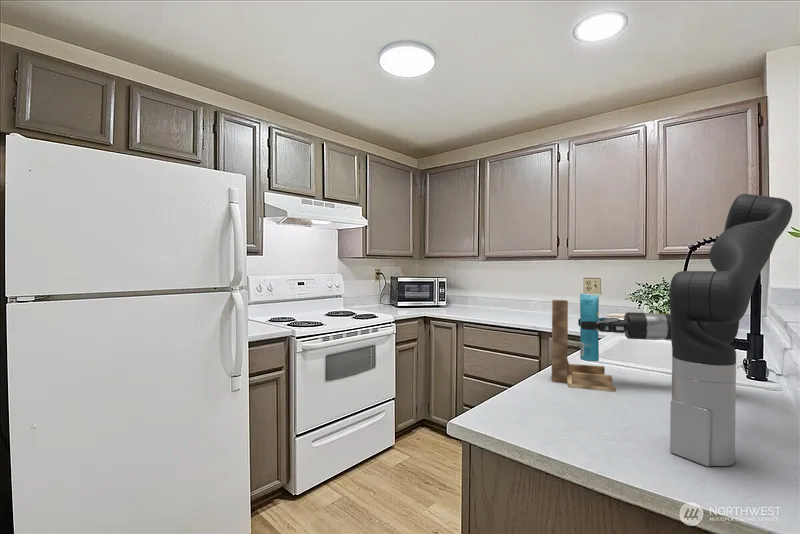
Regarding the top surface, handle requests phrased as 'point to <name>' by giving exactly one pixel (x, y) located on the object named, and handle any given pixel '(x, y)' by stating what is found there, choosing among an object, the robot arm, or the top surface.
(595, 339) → the tube
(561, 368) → the headboard bracket
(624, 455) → the top surface
